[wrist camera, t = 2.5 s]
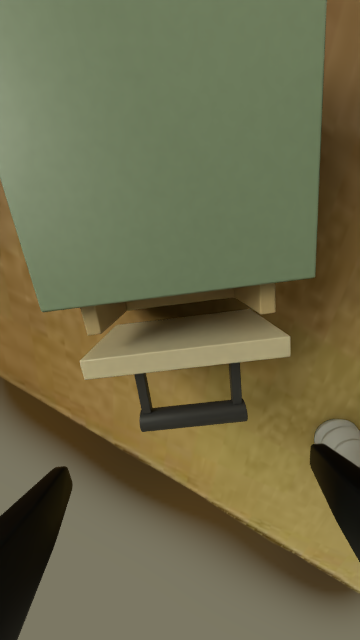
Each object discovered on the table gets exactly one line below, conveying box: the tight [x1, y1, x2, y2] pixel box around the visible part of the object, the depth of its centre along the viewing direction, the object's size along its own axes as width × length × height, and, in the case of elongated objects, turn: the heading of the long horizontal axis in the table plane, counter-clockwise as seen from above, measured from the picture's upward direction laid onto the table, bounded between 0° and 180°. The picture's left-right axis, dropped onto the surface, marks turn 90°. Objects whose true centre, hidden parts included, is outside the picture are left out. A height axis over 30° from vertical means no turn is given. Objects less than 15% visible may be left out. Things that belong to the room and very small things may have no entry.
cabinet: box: [0, 0, 327, 312], centre depth 12 cm, size 15×13×9 cm
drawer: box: [80, 283, 291, 432], centre depth 14 cm, size 19×11×7 cm, turn 7°
